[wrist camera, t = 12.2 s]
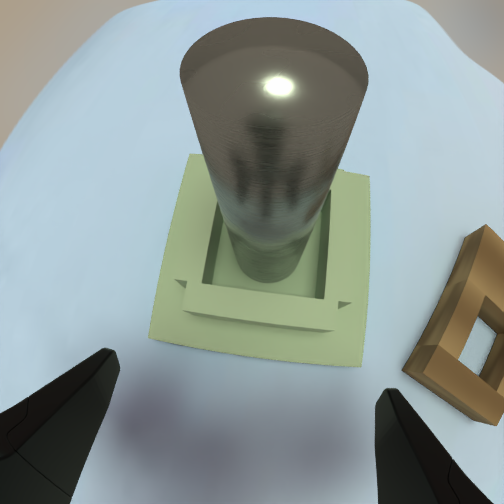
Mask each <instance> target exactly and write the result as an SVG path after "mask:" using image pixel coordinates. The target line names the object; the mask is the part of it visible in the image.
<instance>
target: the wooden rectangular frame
mask: <svg viewBox="0 0 504 504" xmlns="http://www.w3.org/2000/svg"><path fill="white" fill-rule="evenodd" d="M477 316H479V317H480V318H481V319H482V320H483V321H484V322H485V323H486V324H487V325H489V326H490V327H491V328H492V329H493V330H494V331H495V332H496V333H497V336H496V339H495V341H494V344H493V346H492V349H491V351H490V353H489V356H488V358H487V360H486V363H485V365H484V367H483V369H482V371H481V374H480V376H479V377H478V376H477V375H476V374H475V373H473V372H472V371H471V370H470V369H468V368H467V367H466V366H465V365H464V364H462V363H461V362H460V361H458V358H459V356H460V354H461V352H462V350H463V348H464V346H465V344H466V341H467V339H468V337H469V335H470V332H471V330H472V328H473V325H474V323H475V321H476V318H477ZM402 371H403V372H405V373H406V374H408V375H409V376H410V377H412V378H413V379H415V380H416V381H417V382H419V383H420V384H422V385H423V386H425V387H426V388H427V389H429V390H430V391H432V392H433V393H435V394H436V395H438V396H439V397H440V398H442V399H443V400H445V401H446V402H448V403H449V404H450V405H452V406H453V407H455V408H456V409H458V410H459V411H461V412H462V413H463V414H465V415H466V416H468V417H469V418H471V419H472V420H474V421H477V422H481V423H485V424H489V425H493V426H497V425H498V423H499V421H500V419H501V417H502V415H503V413H504V241H503V240H502V239H501V238H500V237H499V236H498V235H497V234H496V233H495V232H494V231H493V230H492V229H491V228H490V227H489V226H488V225H487V224H485V225H484V226H482V227H481V228H479V229H478V230H476V231H474V232H473V233H471V234H470V235H468V236H467V237H465V239H464V242H463V245H462V248H461V250H460V253H459V256H458V258H457V261H456V263H455V266H454V268H453V271H452V273H451V275H450V278H449V280H448V282H447V285H446V287H445V289H444V291H443V294H442V296H441V298H440V300H439V302H438V304H437V306H436V309H435V311H434V313H433V315H432V317H431V319H430V321H429V323H428V325H427V327H426V328H425V330H424V332H423V334H422V336H421V338H420V340H419V342H418V343H417V345H416V347H415V349H414V350H413V352H412V354H411V356H410V357H409V359H408V361H407V363H406V364H405V366H404V368H403V369H402Z"/></svg>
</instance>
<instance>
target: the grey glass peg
mask: <svg viewBox="0 0 504 504" xmlns="http://www.w3.org/2000/svg"><path fill="white" fill-rule="evenodd" d="M180 79H181V84H182V87H183V90H184V94H185V97H186V100H187V104H188V107H189V110H190V114H191V117H192V120H193V124H194V127H195V130H196V133H197V137H198V140H199V143H200V146H201V150H202V153H203V156H204V159H205V163H206V166H207V169H208V172H209V175H210V179H211V182H212V185H213V188H214V191H215V194H216V198H217V201H218V204H219V207H220V210H221V213H222V216H223V220H224V223H225V226H226V229H227V232H228V235H229V238H230V241H231V244H232V247H233V251H234V254H235V257H236V260H237V263H238V265H239V267H240V268H241V270H242V271H243V272H244V273H245V274H246V275H247V276H248V277H249V278H251V279H253V280H255V281H257V282H261V283H276V282H279V281H282V280H284V279H286V278H287V277H288V276H290V275H291V274H292V273H293V272H294V270H295V269H296V268H297V266H298V264H299V261H300V259H301V257H302V254H303V252H304V250H305V247H306V245H307V243H308V240H309V238H310V236H311V233H312V231H313V228H314V226H315V224H316V221H317V219H318V216H319V214H320V211H321V209H322V207H323V204H324V202H325V199H326V197H327V194H328V192H329V189H330V187H331V184H332V182H333V179H334V176H335V174H336V171H337V169H338V166H339V164H340V161H341V158H342V156H343V153H344V151H345V148H346V145H347V143H348V140H349V137H350V135H351V132H352V129H353V126H354V124H355V121H356V118H357V115H358V113H359V110H360V107H361V104H362V101H363V99H364V96H365V93H366V90H367V86H368V71H367V67H366V65H365V63H364V61H363V59H362V57H361V56H360V54H359V53H358V52H357V51H356V50H355V48H354V47H353V46H351V45H350V44H349V43H348V42H347V41H346V40H344V39H343V38H341V37H340V36H338V35H337V34H335V33H333V32H331V31H329V30H327V29H325V28H323V27H320V26H318V25H315V24H312V23H308V22H305V21H300V20H295V19H288V18H277V17H263V18H252V19H245V20H241V21H236V22H233V23H229V24H226V25H224V26H221V27H219V28H216V29H214V30H212V31H211V32H209V33H207V34H206V35H204V36H202V37H201V38H200V39H199V40H197V41H196V42H195V43H194V44H193V45H192V46H191V47H190V48H189V50H188V51H187V52H186V54H185V56H184V58H183V60H182V62H181V66H180Z"/></svg>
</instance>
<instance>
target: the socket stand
mask: <svg viewBox="0 0 504 504" xmlns="http://www.w3.org/2000/svg"><path fill="white" fill-rule="evenodd" d="M369 271H370V180H369V176H367V175H362V174H356V173H351V172H345V171H344V170H342V169H337V171H336V174H335V176H334V179H333V182H332V184H331V187H330V189H329V192H328V194H327V197H326V199H325V202H324V204H323V207H322V209H321V211H320V214H319V216H318V219H317V221H316V224H315V226H314V228H313V231H312V233H311V236H310V238H309V240H308V243H307V245H306V247H305V250H304V252H303V254H302V257H301V259H300V261H299V264H298V266H297V268H296V269H295V270H294V272H293V273H292V274H291V275H290V276H288V277H287V278H286V279H284V280H282V281H279V282H276V283H261V282H257V281H255V280H253V279H251V278H249V277H248V276H247V275H246V274H245V273H244V272H243V271H242V270H241V268H240V267H239V265H238V263H237V260H236V257H235V254H234V251H233V247H232V244H231V241H230V238H229V235H228V232H227V229H226V226H225V223H224V220H223V216H222V213H221V210H220V207H219V204H218V201H217V198H216V194H215V191H214V188H213V185H212V182H211V179H210V175H209V172H208V169H207V166H206V163H205V159H204V156H203V155H202V154H190V155H189V158H188V161H187V165H186V168H185V172H184V176H183V179H182V183H181V187H180V190H179V194H178V198H177V202H176V206H175V210H174V214H173V218H172V222H171V226H170V230H169V234H168V239H167V243H166V247H165V252H164V256H163V261H162V266H161V270H160V275H159V280H158V285H157V290H156V295H155V301H154V306H153V311H152V317H151V323H150V329H149V335H148V338H150V339H155V340H159V341H164V342H169V343H173V344H178V345H183V346H189V347H194V348H199V349H205V350H210V351H216V352H222V353H229V354H235V355H242V356H249V357H256V358H263V359H271V360H280V361H289V362H298V363H309V364H320V365H333V366H348V367H361V365H362V357H363V349H364V340H365V330H366V319H367V306H368V291H369Z"/></svg>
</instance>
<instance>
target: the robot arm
mask: <svg viewBox="0 0 504 504" xmlns="http://www.w3.org/2000/svg"><path fill="white" fill-rule="evenodd" d="M119 372H120V365H119V361H118V358H117V355H116V352H115V351H114V350H112V349H108V348H102V349H101V350H99V351H98V352H96V353H95V354H93V355H91V356H90V357H88V358H87V359H85V360H84V361H82V362H81V363H79V364H78V365H76V366H75V367H73V368H72V369H70V370H68V371H67V372H65V373H64V374H62V375H61V376H59V377H58V378H56V379H55V380H53V381H52V382H50V383H48V384H47V385H45V386H44V387H42V388H41V389H39V390H38V391H36V392H35V393H33V394H32V395H30V396H29V397H27V398H25V399H24V400H22V401H21V402H19V403H17V404H16V405H14V406H13V407H11V408H9V409H7V410H5V411H4V412H2V413H0V504H70V502H71V499H72V496H73V493H74V491H75V488H76V485H77V483H78V480H79V477H80V475H81V472H82V470H83V467H84V465H85V462H86V460H87V457H88V455H89V452H90V450H91V447H92V445H93V442H94V440H95V438H96V435H97V433H98V430H99V428H100V426H101V423H102V421H103V419H104V416H105V414H106V412H107V409H108V407H109V404H110V401H111V397H112V394H113V391H114V388H115V384H116V381H117V378H118V375H119ZM375 457H376V471H377V488H378V504H493V503H492V502H491V501H490V500H489V499H488V498H487V497H486V496H485V495H484V494H483V493H482V492H481V491H480V490H479V489H478V487H477V486H476V485H475V484H474V483H473V482H472V481H471V480H470V479H469V478H468V477H467V476H466V475H465V473H464V472H463V471H462V470H461V468H460V467H459V466H458V465H457V463H456V462H455V461H454V459H452V457H451V456H450V454H449V453H448V452H447V450H446V449H445V448H444V447H443V445H442V444H441V443H440V442H439V440H438V439H437V438H436V436H435V435H434V434H433V433H432V431H431V430H430V429H429V428H428V426H427V425H426V424H425V422H424V421H423V420H422V419H421V417H420V416H419V415H418V414H417V412H416V411H415V410H414V409H413V407H412V406H411V405H410V404H409V402H408V401H407V400H406V399H405V398H404V396H403V395H402V394H401V393H400V391H399V390H398V389H396V388H386V389H385V390H384V391H383V393H382V394H381V396H380V397H379V399H378V401H377V402H376V406H375Z"/></svg>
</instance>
